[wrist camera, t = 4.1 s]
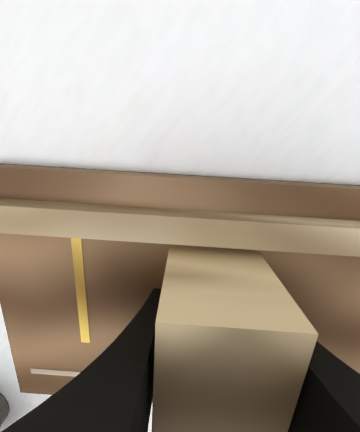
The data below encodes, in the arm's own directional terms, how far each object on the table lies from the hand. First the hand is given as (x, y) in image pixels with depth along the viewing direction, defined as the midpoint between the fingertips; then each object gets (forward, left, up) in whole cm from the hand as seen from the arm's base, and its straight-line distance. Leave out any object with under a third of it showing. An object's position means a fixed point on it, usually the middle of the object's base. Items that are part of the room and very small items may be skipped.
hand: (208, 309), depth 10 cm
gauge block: (-2, 0, -1) cm, 2 cm away
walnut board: (-1, 0, -2) cm, 3 cm away
